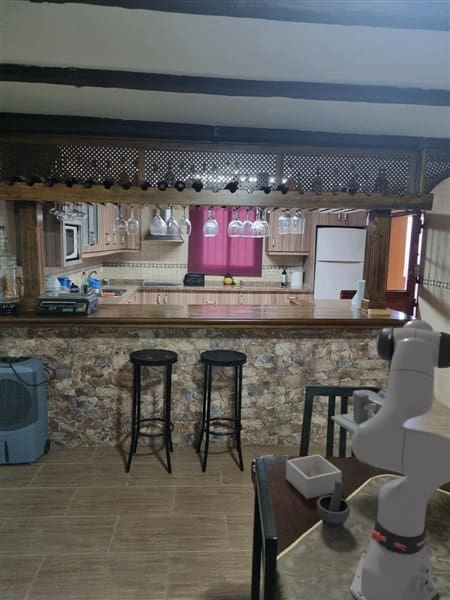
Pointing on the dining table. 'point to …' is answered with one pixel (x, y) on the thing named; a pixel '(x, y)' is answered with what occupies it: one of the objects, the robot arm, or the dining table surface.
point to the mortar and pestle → (333, 509)
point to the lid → (354, 414)
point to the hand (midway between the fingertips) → (359, 405)
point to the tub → (312, 475)
